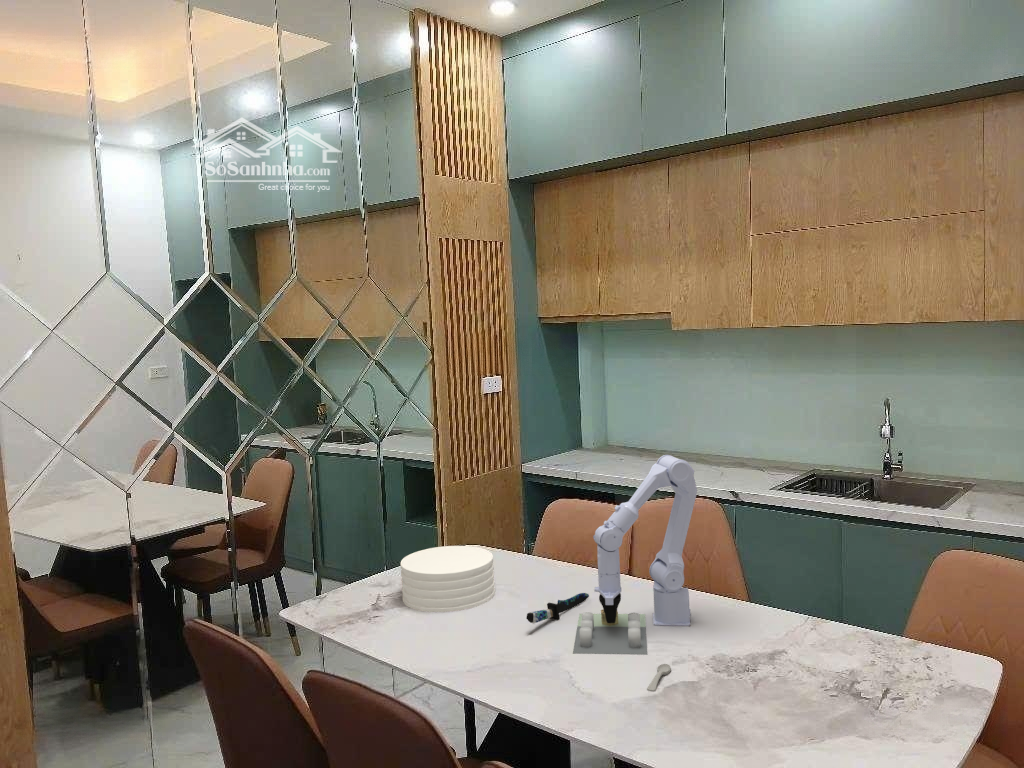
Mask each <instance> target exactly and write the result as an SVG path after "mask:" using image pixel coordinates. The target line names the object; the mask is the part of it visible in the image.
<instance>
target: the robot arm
mask: <svg viewBox="0 0 1024 768" xmlns="http://www.w3.org/2000/svg"><path fill="white" fill-rule="evenodd" d="M665 487H671V488H672V489H673V492H674V493H675V494H674V498H673V502H672V506H671V510H670V514H669V517H668V518H669V519H668V523H667V525H666V531H665V535H664V539H663V544H662V546H661V549H660V550H659V551H658V552H657V553H656V555H655V559H654V560H653V562H652V563H651V564H650V566H649V576H650V578H651V579H652V580H653V585H652V586H653V589H652V591H653V606H654V607H653V613H652V623H653V626H670V627H671V626H673V627H676V626H677V627H678V626H679V627H684V626H686V627H689V626H691V616H692V615H691V614H692V613H691V608H690V592H689V591H690V590H689V588H688V587H683V585H684V584H685V575H684V570H685V563H684V559H683V553H684V551H683V550H684V547H685V543H686V539H687V535H688V531H689V527H690V523H691V519H692V515H693V511H694V510H693V509H694V507H695V503H696V498H697V494H698V488H697V483H696V479H695V469H694V468H693V467H692V466H691V465H690V463H689V462H688V461H687V460H685V459H680V458H677V457H675V456H673V455H672V454H664V455H661V456H660V457H659V458H658V459H657V461H656V462H655V463H654V464H652V466H651V467H650V470H649V473H648V474H647V475H646V477H644V479H643V480H642V482H641V484H640V485H639V486H638V488H637V489H636V490H635V492H634V493H633V494H632V496H631V497H630V499H629V500H628V501H626V502H621V503H619V505H618V504H617V505H616V506H615V507H614V510H615V511H614V512H613V513H611V515H610V516H609V518H608V519H607V520H604V521H603V524H602V525H600V526H599V527H598V528H596V529H595V531H594V534H593V535H592V537H593V541H594V542H595V544H597V546H596V547H597V550H596V551H597V555H596V556H597V577H598V579H597V581H598V586H595V587H594V589H593V590H594V593H595V592H597V593H599V597H598V601H599V603H600V604H601V606H602V608H603V609H604V613H605V617H606V621H607V623H615V621H616V614H617V611H618V608H619V605H620V603H621V600H622V594H621V593H622V587H621V584H622V583H621V565H620V564H621V563H620V547H621V546H622V544H623V539H624V538H623V537H624V536H625V534H626V533H628V531H629V530H630V528H631V527H632V526H633V525H634V523H636V521H637V520H638V519H639V515H640V514H639V510H640V509H642V507H643V505H645V504H646V502H648V500H649V499H650V498H651V497H652V496H653V495H654V493H656V491H657V490H658V489H661V488H665ZM603 609H602V610H603Z"/></svg>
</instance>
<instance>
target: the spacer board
mask: <svg viewBox="0 0 1024 768" xmlns="http://www.w3.org/2000/svg"><path fill="white" fill-rule="evenodd" d="M646 624H647V622H646V614H645V613H637V612H630V613H618V624H616V625H612V626H609V625H603V624H602V622H601V613H593V612H583V613H579V614H578V621H577V625H576V626H577V627H576V632H575V639H574V644H573V648H572V649H573V651H572V654H576V655H577V654H580V655H585V654H586V655H587V654H588V655H592V654H593V655H637V656H640V655H643V656H644V655H646V656H647V655H648V654H649V653H648V639H647V625H646Z"/></svg>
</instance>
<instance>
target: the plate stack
mask: <svg viewBox="0 0 1024 768" xmlns="http://www.w3.org/2000/svg"><path fill="white" fill-rule="evenodd" d="M494 568H495V567H494V555H493V553H492V552H491V551H489V550H487V549H485V548H481V547H478V546H477V547H476V546H471V545H446V546H437V547H436V546H435V547H429V548H426V549H422V550H418V551H415V552H413V553H410V554H408V555H405V556H404V557H403V558H402V559H401V561H400V569H401V570H400V576H401V586H402V587H401V593H402V602H403V604H404V605H405V606H406V607H408V608H409V609H413V610H416V611H420V612H426V613H450V612H451V613H453V612H459V611H465V610H469V609H472V608H474V609H475V608H477V607H479V606H483V605H485V604H487V603H488V602H490V601H491V600H492V599H493V598H494V597H495V594H496V588H495V579H494V578H495V572H494V570H495V569H494Z"/></svg>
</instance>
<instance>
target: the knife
mask: <svg viewBox="0 0 1024 768" xmlns="http://www.w3.org/2000/svg"><path fill="white" fill-rule="evenodd" d="M589 597H590V594H589V593H586V592H579V593H577V594H576V595H573V596H571V597H569V598H567V599H563V600H561V599H557V603H553V602H547V603H546V606H547V607H546V608H545V609H541V610H535V611H531V612H530V611H529V612H528V613H526V620H527V621H528V622H529V623H530V624H536V623H541V622H542V621H545V620H547V619H548V620H549V619H553V620H557V621H558V620H560V614H561V613H564V612H566V611H568V610H572V609H573V608H575V607H576V606H579V605H581V604H582V603H583V602H585V601H586V600H587V599H588V598H589Z"/></svg>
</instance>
